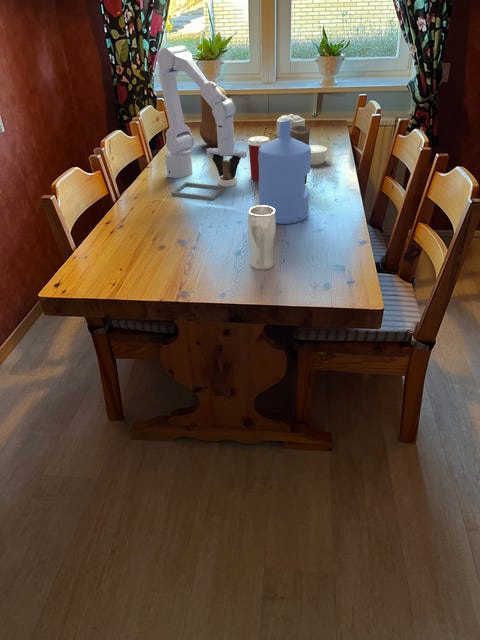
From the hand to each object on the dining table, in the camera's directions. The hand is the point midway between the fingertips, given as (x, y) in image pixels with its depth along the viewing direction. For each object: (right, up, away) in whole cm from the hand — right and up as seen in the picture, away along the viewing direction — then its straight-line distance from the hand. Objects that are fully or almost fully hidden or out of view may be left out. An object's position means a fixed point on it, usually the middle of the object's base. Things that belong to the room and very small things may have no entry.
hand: (227, 176), depth 179 cm
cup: (0, -3, +2) cm, 3 cm away
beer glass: (+10, -38, -49) cm, 63 cm away
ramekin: (+34, +12, +22) cm, 42 cm away
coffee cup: (+12, 0, +6) cm, 13 cm away
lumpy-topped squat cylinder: (+29, +36, +57) cm, 73 cm away
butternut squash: (-6, +27, +45) cm, 53 cm away
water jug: (+18, -19, -22) cm, 35 cm away
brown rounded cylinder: (+25, -4, -1) cm, 25 cm away
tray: (-10, -8, -5) cm, 13 cm away
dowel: (0, -2, +1) cm, 3 cm away
